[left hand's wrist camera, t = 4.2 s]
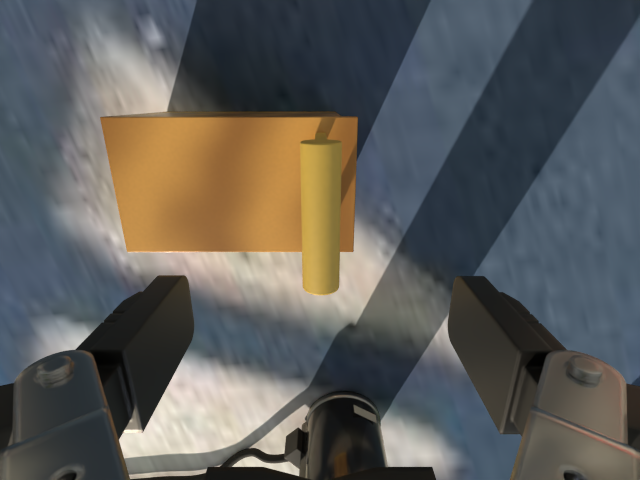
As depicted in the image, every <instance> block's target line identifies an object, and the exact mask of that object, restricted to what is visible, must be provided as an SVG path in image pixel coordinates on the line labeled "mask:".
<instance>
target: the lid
mask: <svg viewBox="0 0 640 480" xmlns="http://www.w3.org/2000/svg"><path fill="white" fill-rule="evenodd" d="M100 119H101V124H102V129H103V134H104V139H105V144H106V149H107V154H108V159H109V164H110V169H111V174H112V179H113V184H114V189H115V194H116V199H117V204H118V209H119V214H120V219H121V223H122V228H123V233H124V238H125V243H126V248H127V252H302V270H303V288H304V290H305V291H306V292H308V293H310V294H314V295H328V294H332V293H334V292H336V291H337V290H338V288H339V262H340V252H353V246H354V217H355V188H356V160H357V131H358V117H356V116H107V117H100Z"/></svg>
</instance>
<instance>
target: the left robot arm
mask: <svg viewBox="0 0 640 480" xmlns="http://www.w3.org/2000/svg"><path fill="white" fill-rule="evenodd" d="M193 333H194V318H193V311H192V304H191V297H190V290H189V283H188V280H187V278H186V276H157V277H156V278H155V279H154V280H153V282H152V283H151V284H150V285H149V286H148V287H147V288H146V289H145V290H144V291H143V292H138V293H136V294H134V295H133V296H131V297H129V298H127V299H126V300H124V301H123V302H122V303H121V304H120V305H119V306H118V307H117V308H116V309H115V310H114V311H113V314H110V315H109V316H108V317H107V318H106V319H105V320H104V323H101V324H100V325H99V326H98V327H97V328H96V329H95V330H94V331H93V332H92V333H91V334H90V335H89V336H88V337H87V338H86V339H85V340H84V341H83V342H82V344H81V345H80V346H79V347H78V348H77V349H76V350H69V351H63V352H59V353H55V354H52V355H50V356H47V357H45V358H42V359H40V360H38V361H36V362H35V363H33V364H31V365H30V366H28V367H27V368H26V369H24V370H23V371H22V372H21V373H20V374H19V375H18V377H17V378H16V380H15V382H14V383H12V384H7V385H2V386H0V480H436V478H435V475H434V471H433V468H432V467H388V464H387V459H386V453H385V448H384V442H383V437H382V432H381V423H380V416H379V412H378V410H377V408H376V406H375V405H374V404H373V402H371V401H370V400H369V399H368V398H366V397H364V396H362V395H360V394H357V393H353V392H335V393H331V394H328V395H326V396H323V397H322V398H320V399H318V400H317V401H316V402H315V403H314V404H313V405H312V406H311V408H310V410H309V412H308V415H307V421H306V422H305V423H304V424H302V430H301V429H300V428H297V429H296V430H294V431H293V432H291V433H290V434H289V435H287V436H286V444H285V454H279V455H270V454H266V453H264V452H262V451H261V450H259V449H256V448H250V449H245V450H242V451H240V452H238V453H236V454H235V455H234V456H232V457H231V458H230V459H229V460H227V461H226V462H225V463H224V464H223V465H221V466H220V467H208V468H207V471H206V473H204V474H200V475H193V476H164V477H151V478H140V479H130V478H129V474H128V471H127V467H126V464H125V460H124V457H123V453H122V450H121V447H120V443H119V438H120V437H121V435H122V433H143V431H144V429H145V427H146V425H147V424H148V422H149V420H150V418H151V416H152V414H153V412H154V410H155V409H156V407H157V405H158V403H159V401H160V399H161V397H162V395H163V394H164V392H165V390H166V388H167V386H168V384H169V382H170V380H171V379H172V377H173V375H174V373H175V371H176V369H177V367H178V365H179V364H180V362H181V360H182V358H183V356H184V354H185V352H186V350H187V349H188V347H189V345H190V343H191V341H192V338H193ZM448 334H449V338H450V341H451V344H452V346H453V347H454V349H455V351H456V353H457V355H458V357H459V359H460V360H461V362H462V364H463V366H464V368H465V370H466V371H467V373H468V375H469V377H470V379H471V381H472V383H473V384H474V386H475V388H476V390H477V392H478V394H479V396H480V397H481V399H482V401H483V403H484V405H485V407H486V409H487V410H488V412H489V414H490V416H491V418H492V420H493V422H494V423H495V425H496V427H497V429H498V431H499V433H500V434H520V435H521V436H522V440H521V443H520V447H519V450H518V453H517V457H516V460H515V464H514V467H513V471H512V474H511V478H510V480H640V386H635V385H630V384H626V382H625V380H624V378H623V377H622V375H621V374H620V373H619V372H618V371H617V370H616V369H614V368H613V367H612V366H610V365H609V364H607V363H605V362H604V361H602V360H600V359H598V358H595V357H593V356H590V355H588V354H585V353H581V352H577V351H571V350H567V349H566V348H565V347H564V346H563V345H562V344H561V343H560V342H559V341H558V340H557V339H556V338H555V337H554V336H553V335H552V334H551V333H550V332H549V331H548V330H547V329H546V328H545V327H544V326H543V325H542V324H541V323H539V322H538V320H537V319H536V318H535V317H534V316H533V315H532V314H530V312H529V311H528V310H527V309H526V308H525V307H524V306H523V305H522V304H521V303H520V302H519V301H517V300H516V299H514V298H512V297H510V296H509V295H507V294H505V293H503V292H499V291H498V290H497V289H496V288H495V287H494V286H493V285H492V284H491V283H490V282H489V281H488V280H487V279H486V278H485V277H484V276H457V277H456V278H455V280H454V284H453V290H452V297H451V304H450V311H449V318H448ZM250 456H254V457H256V458H258V459H259V460H261V461H263V462H266V463H282V462H288V461H289V462H291V463H292V464H293V465H295V466H296V467H297V468H299V469H300V471H299V476H296V475H292V474H288V473H284V472H280V471H276V470H272V469H269V468H265V467H232V466H233V465H234V464H235V463H237V462H238V461H239V460H241V459H243V458H245V457H250Z"/></svg>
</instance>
